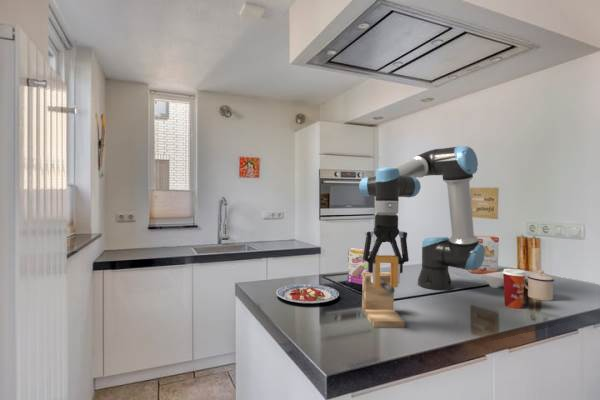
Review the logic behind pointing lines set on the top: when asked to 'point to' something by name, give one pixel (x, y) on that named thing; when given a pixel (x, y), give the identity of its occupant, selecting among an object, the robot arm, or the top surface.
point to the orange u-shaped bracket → (394, 269)
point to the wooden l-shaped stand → (380, 302)
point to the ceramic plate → (307, 293)
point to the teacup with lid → (540, 286)
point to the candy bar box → (356, 265)
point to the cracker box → (488, 255)
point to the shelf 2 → (499, 278)
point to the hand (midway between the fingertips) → (385, 282)
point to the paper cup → (513, 287)
